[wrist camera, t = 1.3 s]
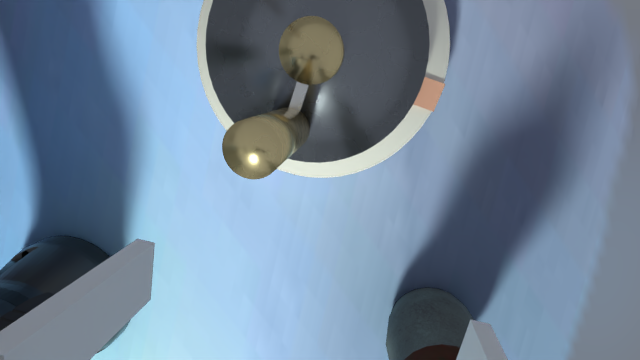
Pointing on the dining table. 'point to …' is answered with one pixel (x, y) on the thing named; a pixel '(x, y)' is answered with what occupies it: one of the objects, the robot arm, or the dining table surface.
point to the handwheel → (313, 76)
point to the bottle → (427, 326)
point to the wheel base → (398, 136)
